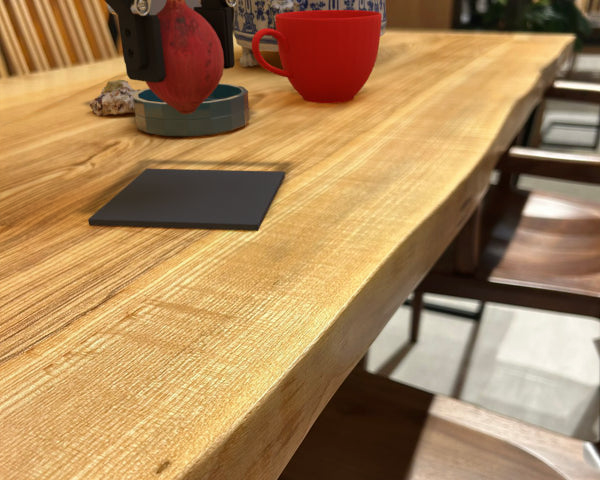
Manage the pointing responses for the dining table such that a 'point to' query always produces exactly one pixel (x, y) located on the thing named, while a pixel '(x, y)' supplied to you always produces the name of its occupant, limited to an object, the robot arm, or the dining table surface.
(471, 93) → the dining table surface
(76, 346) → the dining table surface
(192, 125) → the teal bowl
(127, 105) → the mineral rock
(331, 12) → the ceramic cup
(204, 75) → the onion
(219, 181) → the mat
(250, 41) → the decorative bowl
